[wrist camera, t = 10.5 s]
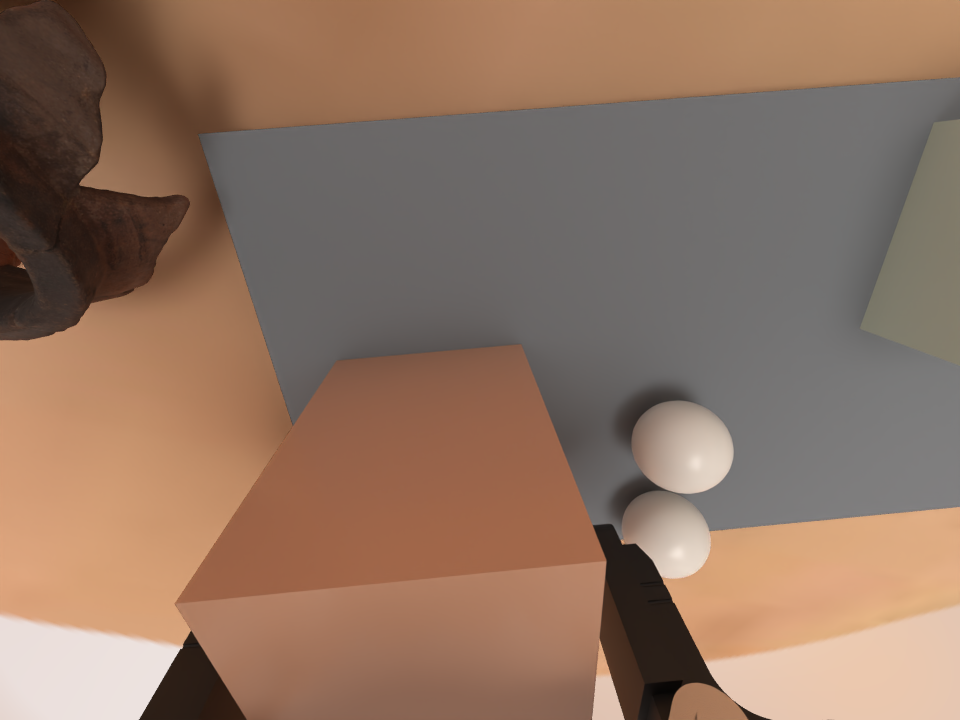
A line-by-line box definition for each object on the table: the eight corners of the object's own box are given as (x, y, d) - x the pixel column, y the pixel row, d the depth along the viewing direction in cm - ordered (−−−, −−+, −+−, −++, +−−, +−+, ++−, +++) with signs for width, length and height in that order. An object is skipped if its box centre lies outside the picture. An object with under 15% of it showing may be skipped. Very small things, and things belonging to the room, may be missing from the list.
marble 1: (621, 388, 14) (662, 440, 11) (705, 380, 14) (767, 430, 11) (614, 457, 15) (650, 518, 12) (692, 450, 15) (744, 509, 12)
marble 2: (613, 477, 15) (646, 541, 13) (688, 470, 15) (738, 532, 13) (607, 532, 17) (637, 601, 14) (677, 525, 17) (720, 593, 14)
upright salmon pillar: (336, 360, 13) (174, 603, 5) (521, 344, 13) (606, 560, 5) (385, 554, 16) (328, 850, 9) (527, 540, 17) (582, 821, 9)
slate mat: (219, 137, 11) (198, 133, 10) (1228, 62, 11) (1296, 52, 10) (344, 546, 17) (338, 567, 17) (974, 486, 18) (1001, 502, 17)
